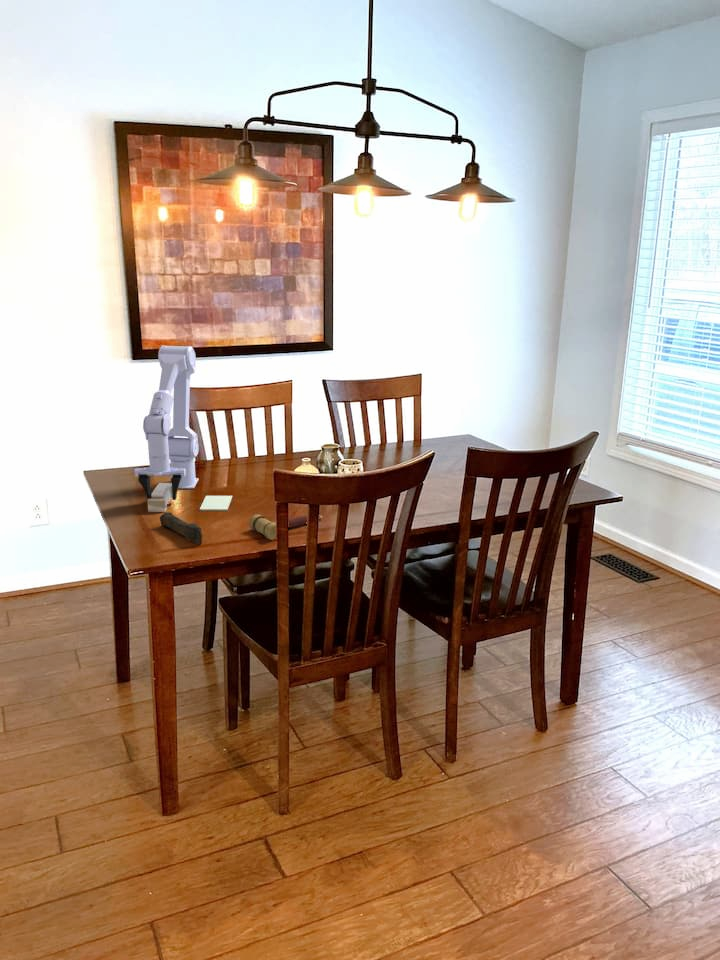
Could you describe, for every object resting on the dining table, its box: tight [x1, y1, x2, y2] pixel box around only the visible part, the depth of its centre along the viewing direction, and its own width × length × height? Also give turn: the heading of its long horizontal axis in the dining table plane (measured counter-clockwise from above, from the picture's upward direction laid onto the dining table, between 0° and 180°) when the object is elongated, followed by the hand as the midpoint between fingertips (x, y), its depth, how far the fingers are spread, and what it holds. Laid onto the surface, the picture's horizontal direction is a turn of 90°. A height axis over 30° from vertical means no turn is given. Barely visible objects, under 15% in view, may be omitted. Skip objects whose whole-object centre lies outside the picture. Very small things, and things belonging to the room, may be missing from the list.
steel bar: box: [151, 482, 173, 506], centre depth 230 cm, size 10×4×5 cm, turn 1°
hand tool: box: [159, 511, 203, 545], centre depth 207 cm, size 19×4×5 cm, turn 39°
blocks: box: [146, 485, 173, 513], centre depth 232 cm, size 17×5×4 cm, turn 2°
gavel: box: [248, 513, 323, 541], centre depth 214 cm, size 21×5×10 cm
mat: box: [199, 495, 233, 511], centre depth 231 cm, size 12×8×1 cm, turn 2°
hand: (162, 498), depth 231 cm, fingers open, 7 cm apart
